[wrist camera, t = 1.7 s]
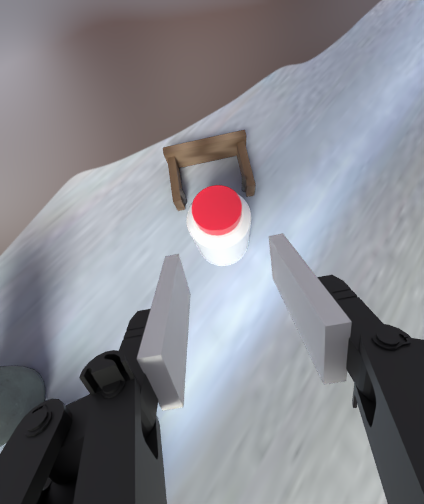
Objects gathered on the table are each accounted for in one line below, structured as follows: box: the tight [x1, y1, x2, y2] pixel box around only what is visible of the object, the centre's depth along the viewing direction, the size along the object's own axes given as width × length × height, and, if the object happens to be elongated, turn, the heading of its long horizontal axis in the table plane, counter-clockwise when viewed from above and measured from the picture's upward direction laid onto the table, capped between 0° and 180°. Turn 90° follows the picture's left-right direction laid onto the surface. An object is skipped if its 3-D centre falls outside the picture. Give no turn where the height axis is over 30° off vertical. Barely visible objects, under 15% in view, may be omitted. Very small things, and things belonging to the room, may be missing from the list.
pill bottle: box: [187, 185, 251, 266], centre depth 31 cm, size 8×8×11 cm
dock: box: [163, 130, 255, 211], centre depth 38 cm, size 13×9×4 cm
